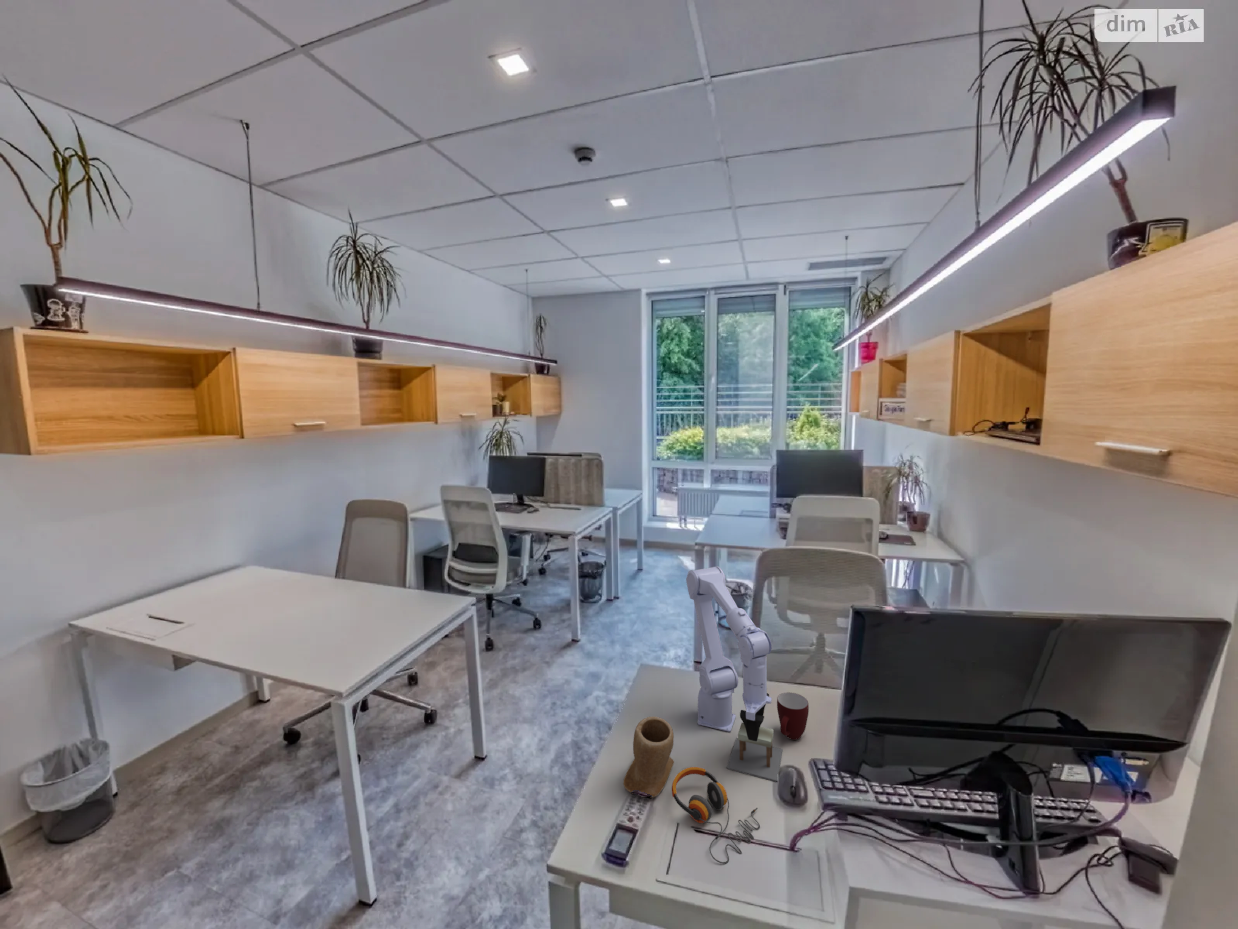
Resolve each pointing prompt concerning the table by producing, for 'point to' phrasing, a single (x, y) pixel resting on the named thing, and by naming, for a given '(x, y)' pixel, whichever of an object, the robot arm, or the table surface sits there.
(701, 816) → the headphones
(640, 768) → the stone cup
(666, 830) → the table surface
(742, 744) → the stool
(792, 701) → the mug
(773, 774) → the mat
